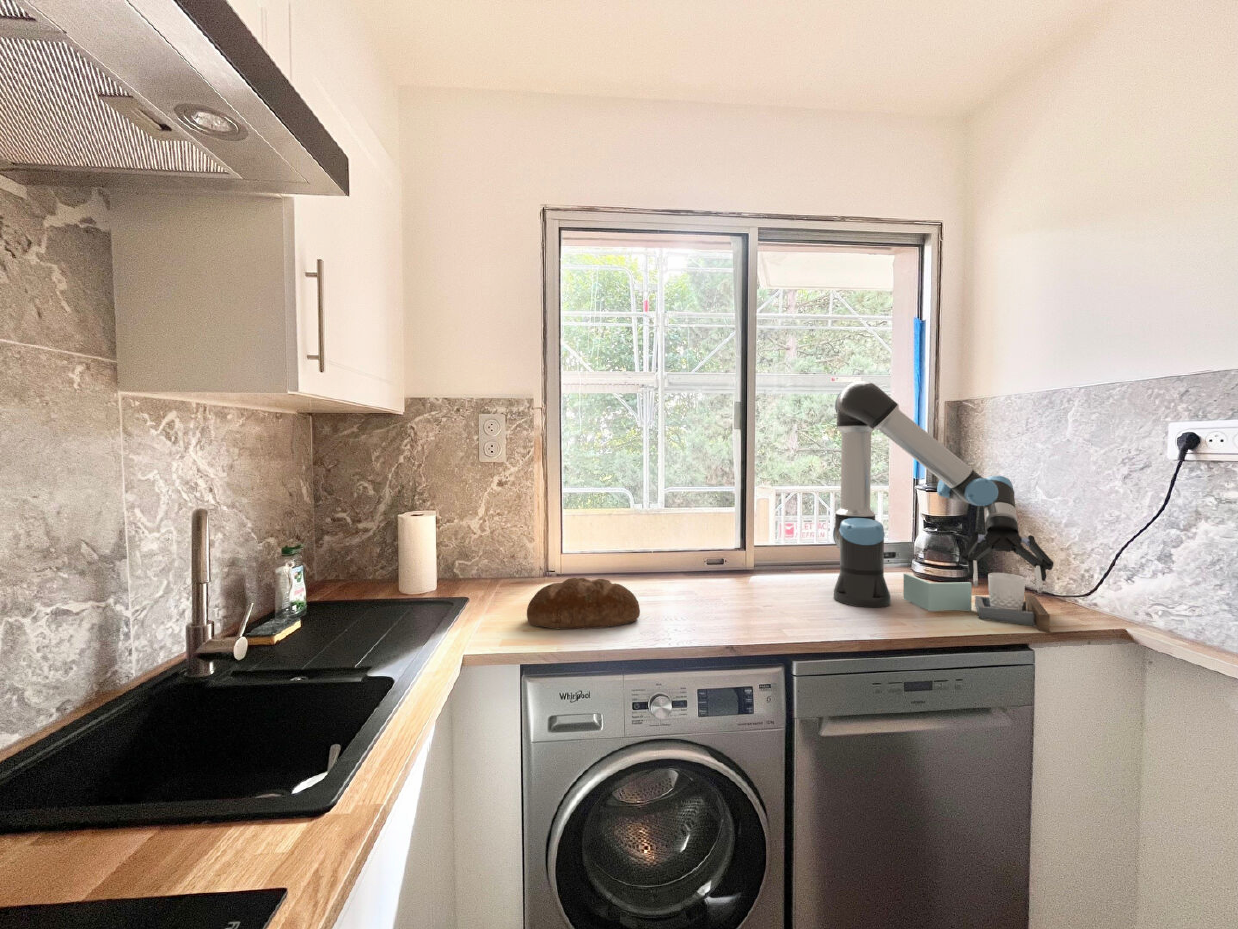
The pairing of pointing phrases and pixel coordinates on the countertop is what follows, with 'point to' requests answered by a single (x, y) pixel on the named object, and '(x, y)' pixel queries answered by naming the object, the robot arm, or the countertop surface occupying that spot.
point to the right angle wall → (937, 594)
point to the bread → (583, 605)
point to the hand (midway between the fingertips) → (1007, 587)
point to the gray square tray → (1003, 613)
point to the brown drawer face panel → (1038, 613)
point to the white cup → (1006, 591)
